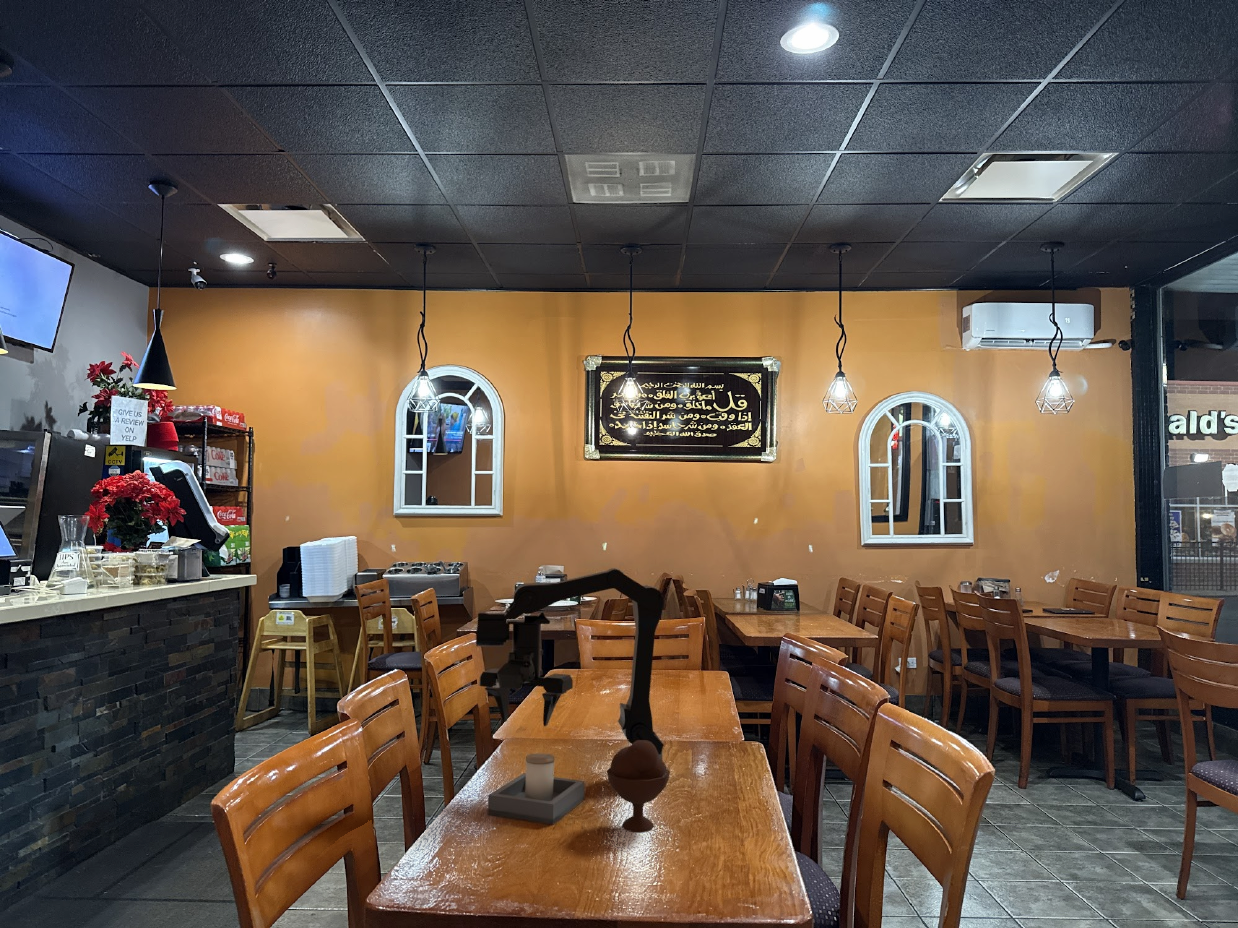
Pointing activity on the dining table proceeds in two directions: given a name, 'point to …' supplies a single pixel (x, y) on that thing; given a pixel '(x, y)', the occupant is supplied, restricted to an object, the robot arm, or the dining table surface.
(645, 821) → the ice cream bowl
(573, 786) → the serving tray
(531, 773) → the cream jar
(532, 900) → the dining table surface
